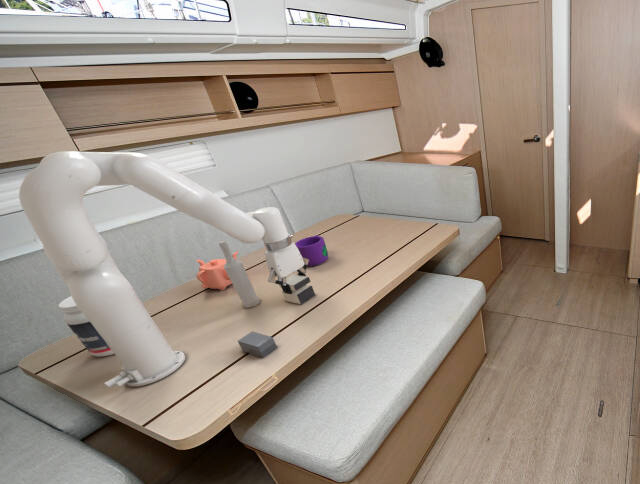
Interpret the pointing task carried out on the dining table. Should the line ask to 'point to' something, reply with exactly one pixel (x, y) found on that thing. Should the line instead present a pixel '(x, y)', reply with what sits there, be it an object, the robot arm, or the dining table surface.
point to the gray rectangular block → (257, 344)
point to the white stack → (300, 295)
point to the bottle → (239, 278)
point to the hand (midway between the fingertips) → (296, 287)
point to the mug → (313, 250)
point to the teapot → (214, 273)
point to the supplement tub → (84, 329)
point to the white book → (297, 281)
